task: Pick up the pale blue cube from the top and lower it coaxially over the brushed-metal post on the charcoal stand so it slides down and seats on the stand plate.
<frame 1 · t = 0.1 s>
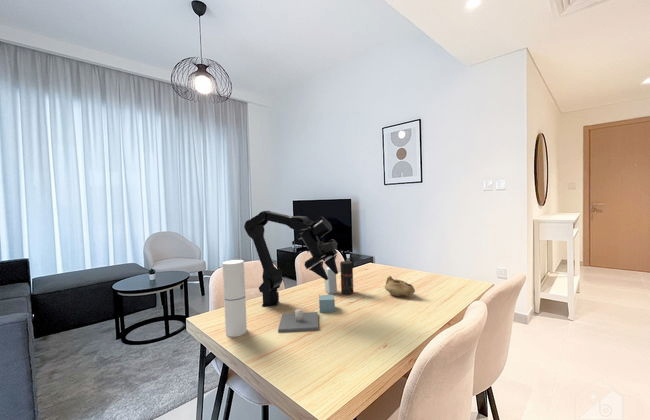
hand: (332, 276, 114), 15 cm above the table, tool tilted 35°, fingers open, 9 cm apart
brown lumpy piece: (400, 295, 134), on the table
deodorant: (347, 293, 140), on the table
pale blue cube: (327, 309, 119), on the table
cylindrical container: (236, 332, 101), on the table
post stand: (299, 322, 107), on the table
skincare box: (330, 292, 141), on the table
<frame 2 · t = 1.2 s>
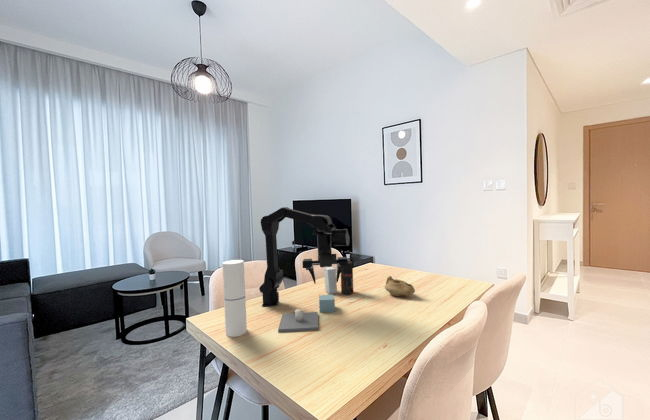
hand: (326, 282, 119), 11 cm above the table, tool pointing down, fingers open, 9 cm apart
nothing on the table moved.
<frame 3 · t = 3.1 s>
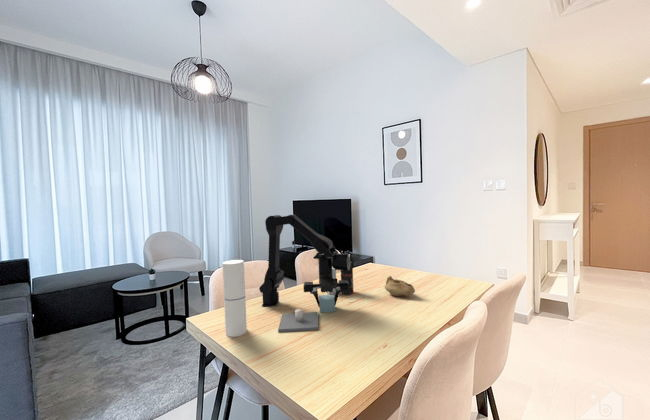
hand: (326, 306, 119), 1 cm above the table, tool pointing down, fingers closed on pale blue cube, 6 cm apart
pale blue cube: (327, 309, 119), on the table, touching gripper
everything else where it was.
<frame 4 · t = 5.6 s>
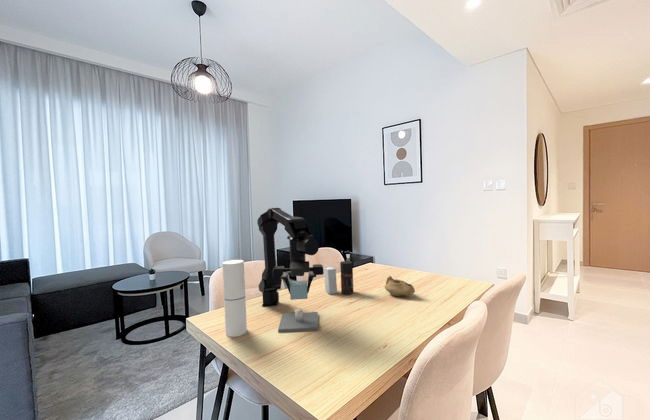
hand: (299, 293, 107), 11 cm above the table, tool pointing down, fingers closed on pale blue cube, 6 cm apart
pale blue cube: (299, 296, 107), point 10 cm above the table, touching gripper
everything else where it was.
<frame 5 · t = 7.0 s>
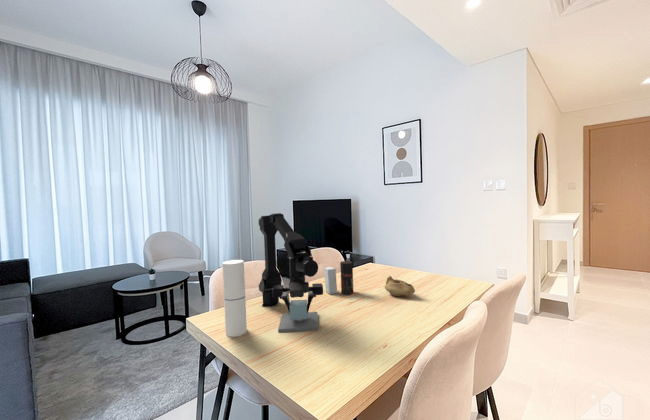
hand: (298, 312, 107), 4 cm above the table, tool pointing down, fingers closed on pale blue cube, 6 cm apart
pale blue cube: (298, 316, 107), point 3 cm above the table, touching gripper
everything else where it was.
when the fingers open (3 cm above the table, at t = 8.0 s): pale blue cube drops 1 cm, resting on post stand.
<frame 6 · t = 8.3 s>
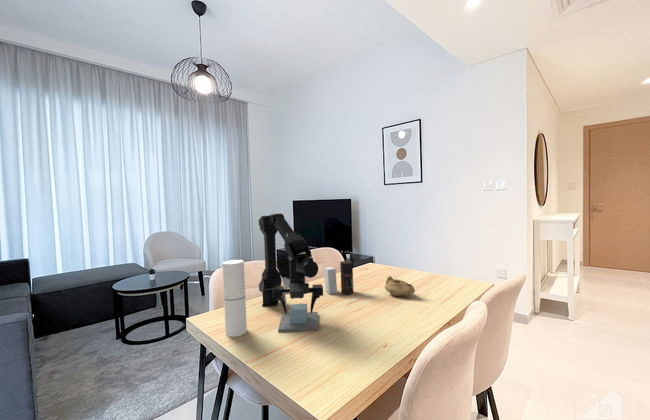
hand: (298, 313, 107), 3 cm above the table, tool pointing down, fingers open, 9 cm apart
pale blue cube: (299, 320, 107), point 1 cm above the table, touching post stand
everything else where it was.
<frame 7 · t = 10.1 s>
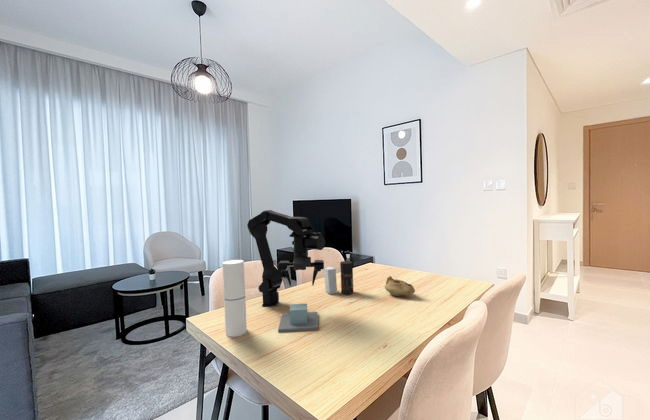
hand: (301, 285, 118), 11 cm above the table, tool pointing down, fingers open, 9 cm apart
nothing on the table moved.
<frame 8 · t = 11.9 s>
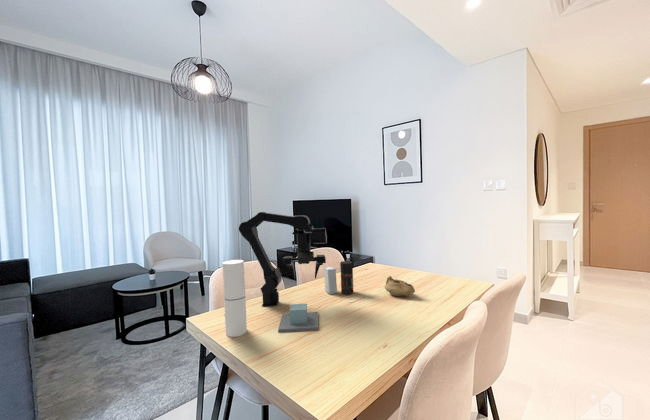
hand: (305, 278, 127), 11 cm above the table, tool pointing down, fingers open, 9 cm apart
nothing on the table moved.
at the end: pale blue cube 0.0 cm off-centre on the post stand, point 1.0 cm above the post stand's base; pale blue cube tilted 0°; the gripper is holding nothing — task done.
